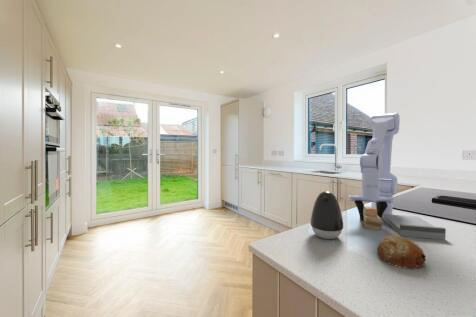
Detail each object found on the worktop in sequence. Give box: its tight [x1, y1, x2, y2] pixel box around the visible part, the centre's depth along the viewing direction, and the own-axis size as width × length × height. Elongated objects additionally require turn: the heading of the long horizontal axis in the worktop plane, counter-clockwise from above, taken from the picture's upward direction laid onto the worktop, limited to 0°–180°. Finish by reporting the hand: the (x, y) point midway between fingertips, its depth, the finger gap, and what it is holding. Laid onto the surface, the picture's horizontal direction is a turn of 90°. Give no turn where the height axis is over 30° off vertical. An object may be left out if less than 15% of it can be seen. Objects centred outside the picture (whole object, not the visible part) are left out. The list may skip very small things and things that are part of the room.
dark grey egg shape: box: [310, 190, 344, 240], centre depth 73 cm, size 10×10×15 cm
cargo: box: [363, 205, 377, 216], centre depth 83 cm, size 4×4×2 cm
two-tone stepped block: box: [359, 213, 383, 230], centre depth 84 cm, size 10×5×4 cm, turn 163°
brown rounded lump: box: [376, 234, 427, 270], centre depth 58 cm, size 10×10×8 cm
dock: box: [382, 214, 447, 241], centre depth 80 cm, size 18×12×4 cm, turn 163°
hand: (369, 220), depth 84 cm, fingers closed on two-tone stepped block, 5 cm apart
